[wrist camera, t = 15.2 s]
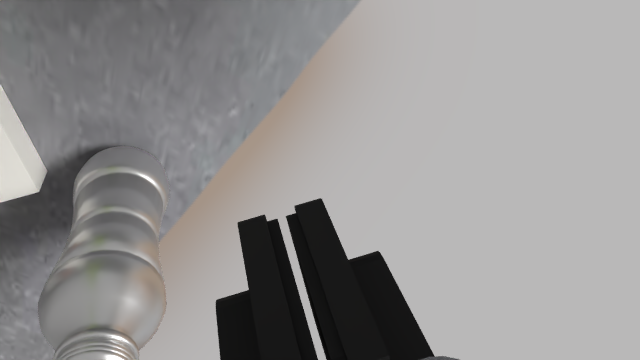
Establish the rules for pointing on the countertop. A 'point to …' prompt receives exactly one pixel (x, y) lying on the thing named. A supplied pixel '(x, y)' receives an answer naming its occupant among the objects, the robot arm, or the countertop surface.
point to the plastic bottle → (109, 261)
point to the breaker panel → (17, 156)
